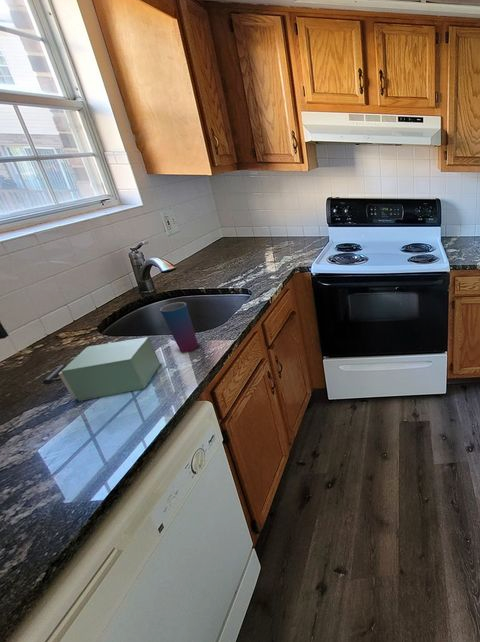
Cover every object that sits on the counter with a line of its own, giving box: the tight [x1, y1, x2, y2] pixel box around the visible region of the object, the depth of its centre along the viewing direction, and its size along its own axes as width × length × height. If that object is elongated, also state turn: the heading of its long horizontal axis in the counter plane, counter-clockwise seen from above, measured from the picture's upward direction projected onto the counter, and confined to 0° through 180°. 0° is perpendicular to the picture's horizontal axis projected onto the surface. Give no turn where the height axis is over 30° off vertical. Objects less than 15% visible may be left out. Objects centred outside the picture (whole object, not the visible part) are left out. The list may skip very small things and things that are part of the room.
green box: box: [61, 336, 161, 402], centre depth 101 cm, size 15×13×10 cm
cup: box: [159, 301, 199, 353], centre depth 116 cm, size 7×7×15 cm
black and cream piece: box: [42, 364, 77, 399], centre depth 100 cm, size 19×11×8 cm, turn 109°
